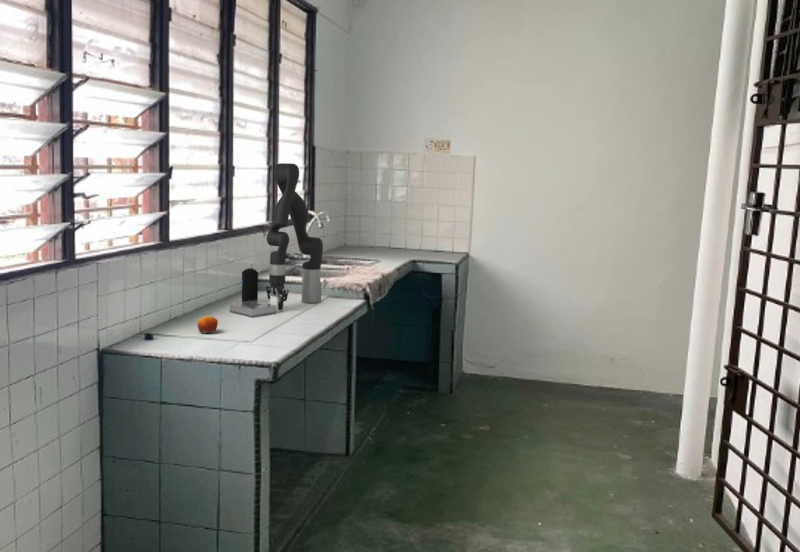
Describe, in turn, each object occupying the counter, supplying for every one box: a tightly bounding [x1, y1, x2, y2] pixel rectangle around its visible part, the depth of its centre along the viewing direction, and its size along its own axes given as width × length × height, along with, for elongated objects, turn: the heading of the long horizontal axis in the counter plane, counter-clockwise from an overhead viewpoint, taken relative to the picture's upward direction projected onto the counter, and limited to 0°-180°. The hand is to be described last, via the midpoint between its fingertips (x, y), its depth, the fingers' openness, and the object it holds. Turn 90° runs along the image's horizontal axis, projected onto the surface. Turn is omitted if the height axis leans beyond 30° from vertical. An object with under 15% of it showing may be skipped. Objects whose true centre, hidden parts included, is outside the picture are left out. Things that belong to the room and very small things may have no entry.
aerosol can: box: [241, 263, 259, 302], centre depth 354 cm, size 8×8×20 cm
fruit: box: [196, 315, 219, 335], centre depth 293 cm, size 8×8×8 cm
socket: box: [229, 300, 277, 319], centre depth 335 cm, size 14×16×5 cm
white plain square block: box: [269, 295, 285, 313], centre depth 343 cm, size 4×4×7 cm
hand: (276, 308), depth 343 cm, fingers closed on white plain square block, 4 cm apart
